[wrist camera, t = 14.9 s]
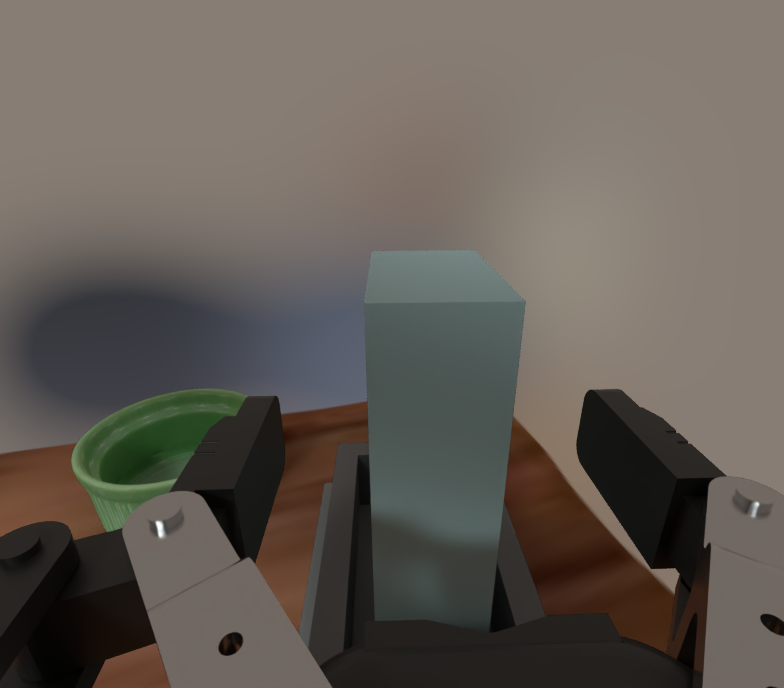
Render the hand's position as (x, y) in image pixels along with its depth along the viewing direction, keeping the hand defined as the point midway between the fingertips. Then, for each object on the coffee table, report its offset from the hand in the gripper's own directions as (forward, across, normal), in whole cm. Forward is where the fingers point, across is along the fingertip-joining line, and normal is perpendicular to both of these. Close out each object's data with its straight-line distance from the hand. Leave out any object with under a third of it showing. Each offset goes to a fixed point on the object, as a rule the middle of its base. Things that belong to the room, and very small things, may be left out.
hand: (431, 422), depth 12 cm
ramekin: (+10, +12, +11) cm, 19 cm away
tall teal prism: (+2, 0, +10) cm, 10 cm away
